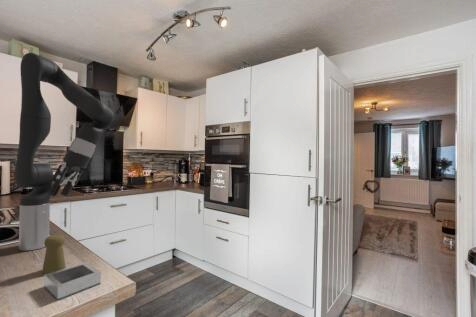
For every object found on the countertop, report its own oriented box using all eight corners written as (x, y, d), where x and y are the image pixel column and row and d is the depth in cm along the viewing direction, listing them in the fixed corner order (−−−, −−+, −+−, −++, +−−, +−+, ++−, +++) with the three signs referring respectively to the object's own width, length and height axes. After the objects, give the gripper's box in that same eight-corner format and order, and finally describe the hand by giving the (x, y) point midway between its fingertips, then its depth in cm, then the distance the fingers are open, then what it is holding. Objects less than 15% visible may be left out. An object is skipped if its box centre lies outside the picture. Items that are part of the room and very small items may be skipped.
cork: (62, 264, 82) (63, 231, 82) (68, 269, 78) (68, 235, 78) (39, 270, 77) (40, 236, 77) (44, 276, 73) (45, 240, 73)
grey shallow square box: (44, 286, 67) (44, 274, 67) (85, 272, 76) (85, 262, 76) (57, 300, 61) (57, 287, 61) (100, 283, 70) (100, 272, 70)
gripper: (77, 152, 93) (56, 192, 90) (60, 145, 80) (35, 191, 76) (96, 159, 95) (77, 198, 91) (83, 153, 81) (59, 199, 77)
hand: (58, 195), depth 84 cm, fingers open, 8 cm apart
